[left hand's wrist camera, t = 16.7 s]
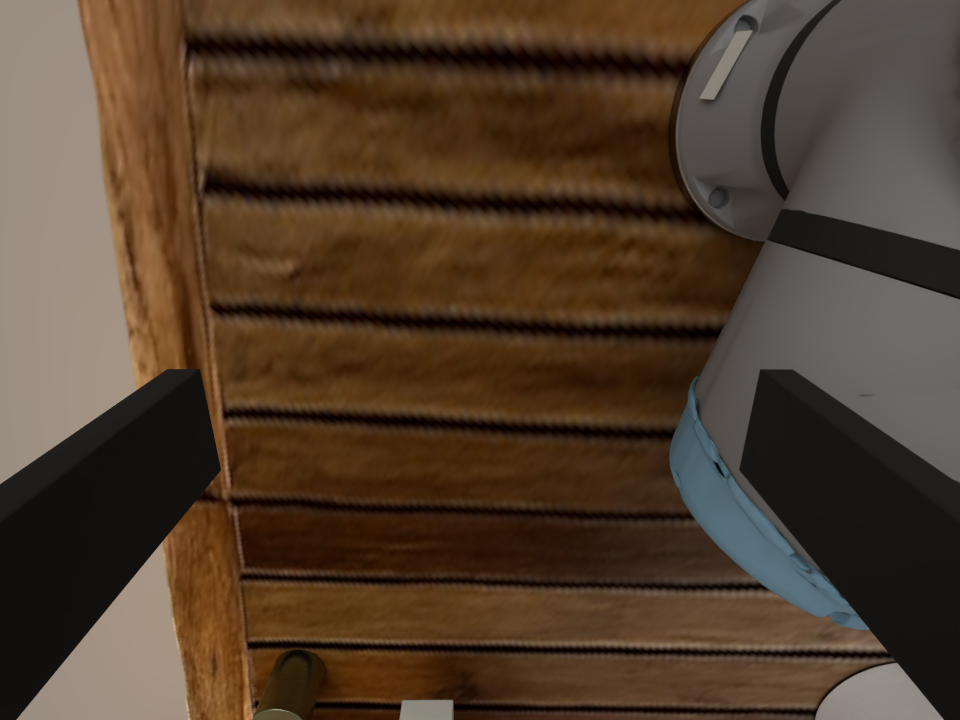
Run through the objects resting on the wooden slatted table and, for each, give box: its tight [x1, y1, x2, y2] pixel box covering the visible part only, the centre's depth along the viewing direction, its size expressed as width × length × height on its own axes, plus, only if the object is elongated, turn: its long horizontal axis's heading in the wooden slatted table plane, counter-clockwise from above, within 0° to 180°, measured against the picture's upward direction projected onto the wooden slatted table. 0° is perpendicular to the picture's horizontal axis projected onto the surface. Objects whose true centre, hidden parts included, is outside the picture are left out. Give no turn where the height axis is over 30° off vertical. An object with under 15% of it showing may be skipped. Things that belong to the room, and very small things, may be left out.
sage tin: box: [252, 650, 325, 720], centre depth 50 cm, size 5×5×6 cm
